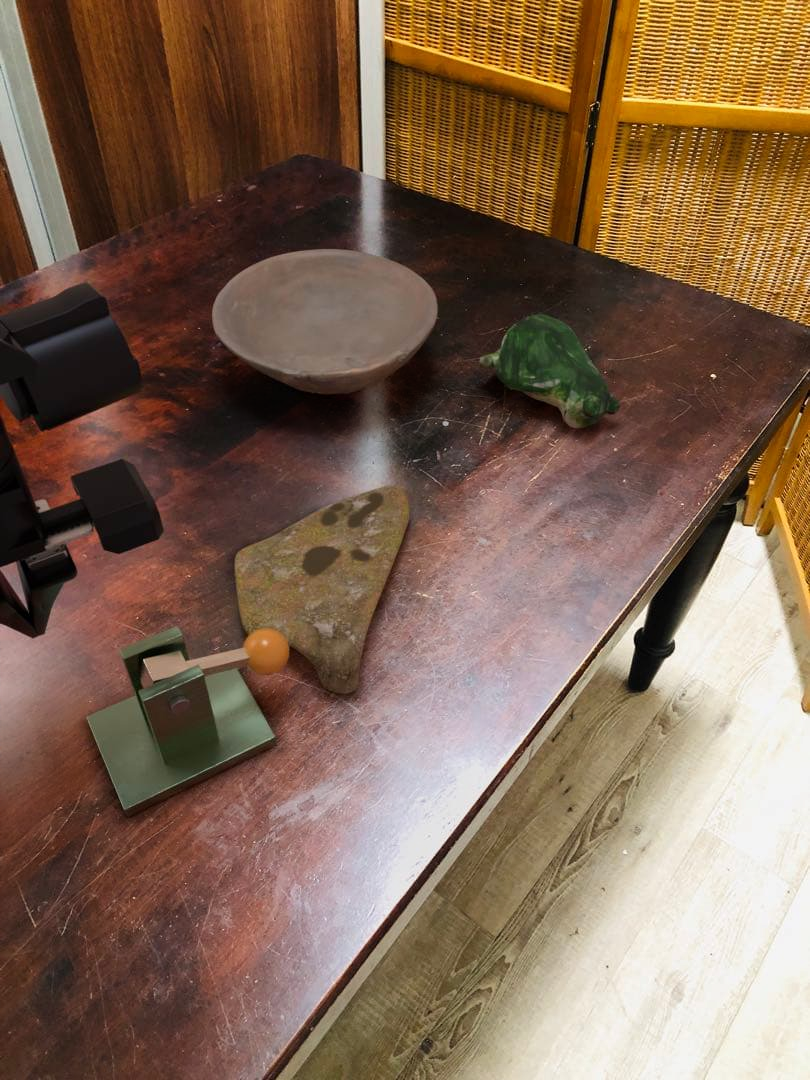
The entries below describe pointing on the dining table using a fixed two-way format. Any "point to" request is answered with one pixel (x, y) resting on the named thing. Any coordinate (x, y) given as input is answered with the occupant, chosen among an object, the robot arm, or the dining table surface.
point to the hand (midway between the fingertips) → (36, 631)
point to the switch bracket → (176, 727)
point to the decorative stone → (325, 580)
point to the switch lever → (223, 659)
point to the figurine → (552, 370)
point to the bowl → (325, 318)
